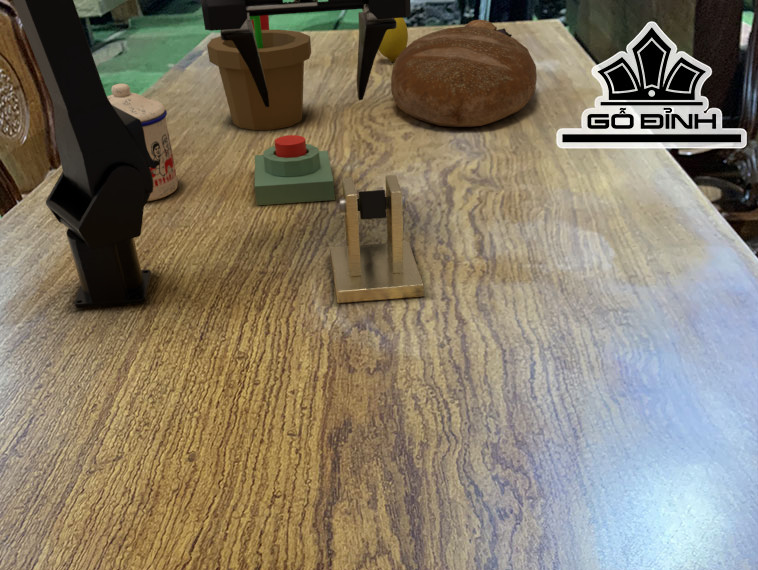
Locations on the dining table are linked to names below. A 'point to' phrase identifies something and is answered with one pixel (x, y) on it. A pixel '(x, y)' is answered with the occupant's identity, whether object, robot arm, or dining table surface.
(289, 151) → the button
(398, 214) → the lever base
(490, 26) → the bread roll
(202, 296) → the dining table surface
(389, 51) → the lemon
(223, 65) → the flowerpot
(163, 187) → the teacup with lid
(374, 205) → the press lever
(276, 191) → the control block
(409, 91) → the bread
